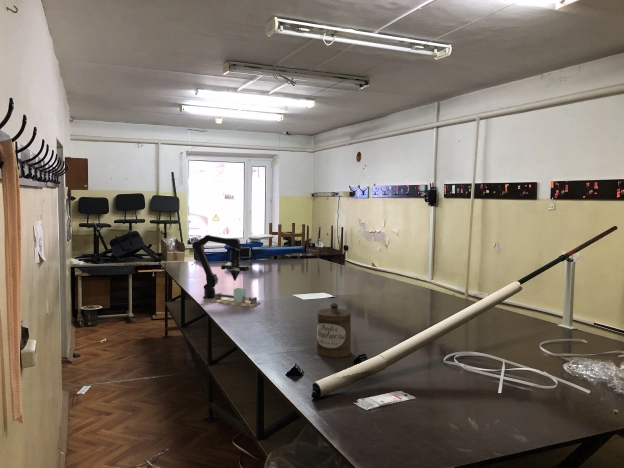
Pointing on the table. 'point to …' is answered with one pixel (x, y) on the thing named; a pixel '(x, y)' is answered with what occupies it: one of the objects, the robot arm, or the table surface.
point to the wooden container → (334, 332)
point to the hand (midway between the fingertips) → (234, 280)
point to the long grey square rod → (233, 297)
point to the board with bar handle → (232, 302)
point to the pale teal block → (239, 294)
